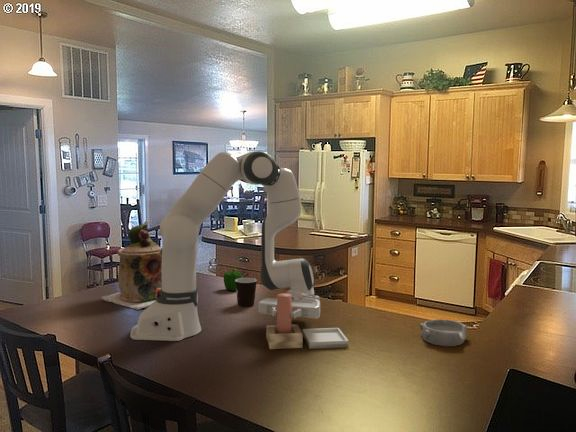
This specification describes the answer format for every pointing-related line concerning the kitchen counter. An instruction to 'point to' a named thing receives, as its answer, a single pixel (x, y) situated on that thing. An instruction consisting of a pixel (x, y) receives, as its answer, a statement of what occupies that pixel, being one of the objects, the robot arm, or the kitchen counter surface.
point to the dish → (443, 332)
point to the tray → (325, 338)
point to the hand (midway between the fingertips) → (283, 315)
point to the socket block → (284, 338)
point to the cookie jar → (138, 270)
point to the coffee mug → (245, 291)
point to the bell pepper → (231, 279)
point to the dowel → (284, 313)
